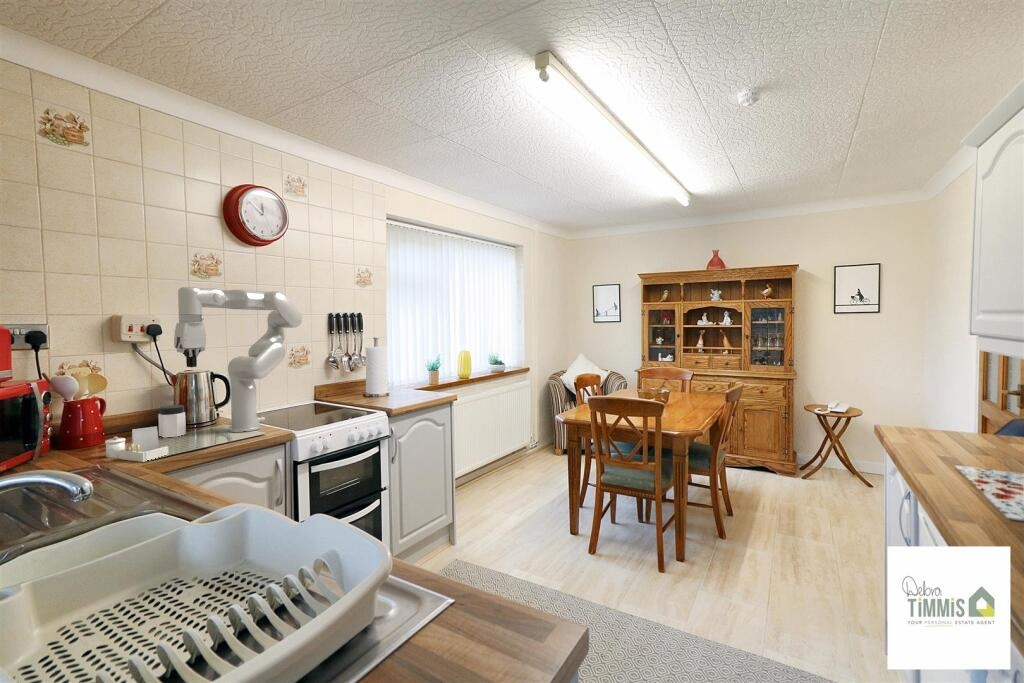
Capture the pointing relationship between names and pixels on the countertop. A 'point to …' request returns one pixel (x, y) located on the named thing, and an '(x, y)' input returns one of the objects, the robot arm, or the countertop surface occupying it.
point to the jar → (172, 421)
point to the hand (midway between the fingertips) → (191, 366)
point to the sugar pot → (114, 446)
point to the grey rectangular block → (145, 438)
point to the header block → (141, 453)
